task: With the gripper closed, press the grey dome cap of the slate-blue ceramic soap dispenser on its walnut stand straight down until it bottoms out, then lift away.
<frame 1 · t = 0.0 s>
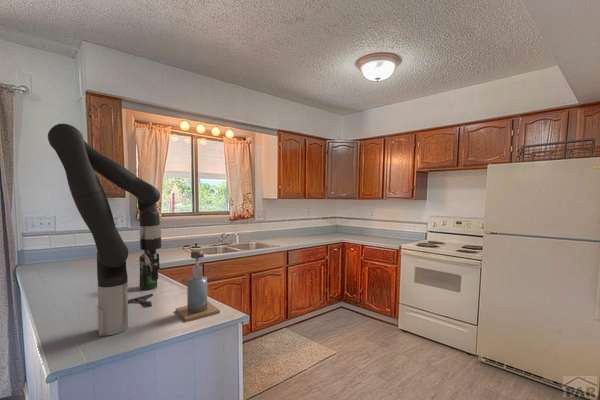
hand: (152, 277, 115), 17 cm above the worktop, tool pointing down, fingers open, 8 cm apart
soap dispenser: (197, 312, 123), on the worktop
bracket: (142, 304, 134), on the worktop
coffee jar: (148, 288, 156), on the worktop
grey dome cap: (198, 260, 121), point 22 cm above the worktop, slide at 0.0 cm
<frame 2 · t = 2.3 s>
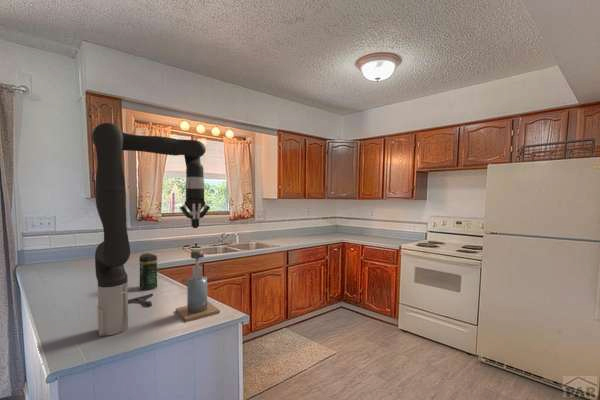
hand: (195, 227, 125), 36 cm above the worktop, tool pointing down, fingers closed
nothing on the worktop moved.
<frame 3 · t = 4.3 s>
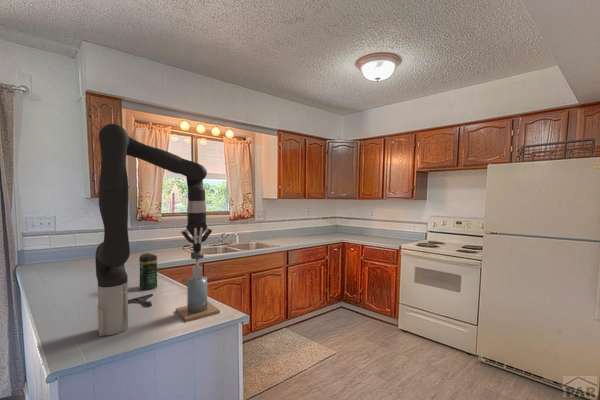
hand: (197, 252, 123), 26 cm above the worktop, tool pointing down, fingers closed
grey dome cap: (198, 261, 121), point 22 cm above the worktop, slide at 0.3 cm, touching gripper
everything else where it was.
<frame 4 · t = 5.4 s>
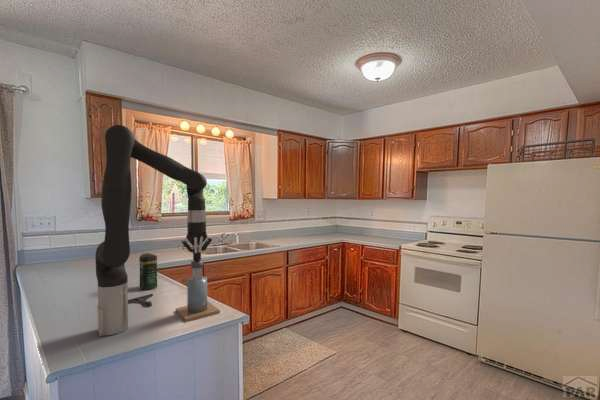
hand: (197, 261, 123), 22 cm above the worktop, tool pointing down, fingers closed
grey dome cap: (198, 270, 121), point 18 cm above the worktop, slide at 4.2 cm, touching gripper
everything else where it was.
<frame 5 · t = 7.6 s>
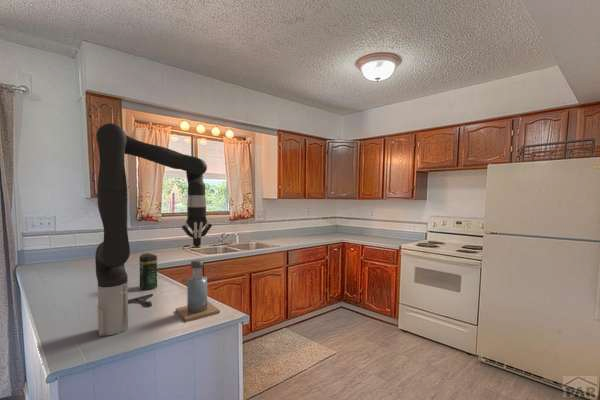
hand: (196, 246, 123), 28 cm above the worktop, tool pointing down, fingers closed
grey dome cap: (198, 270, 121), point 18 cm above the worktop, slide at 4.2 cm
everything else where it was.
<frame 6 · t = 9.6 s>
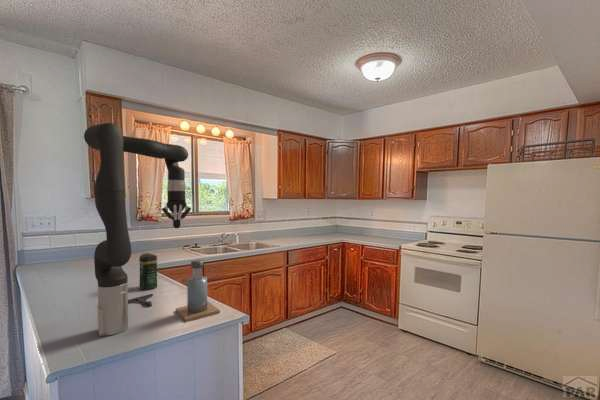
hand: (176, 228, 132), 35 cm above the worktop, tool pointing down, fingers closed
nothing on the worktop moved.
at the end: grey dome cap slide at 4.2 cm; bracket moved 0.9 cm from its start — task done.
